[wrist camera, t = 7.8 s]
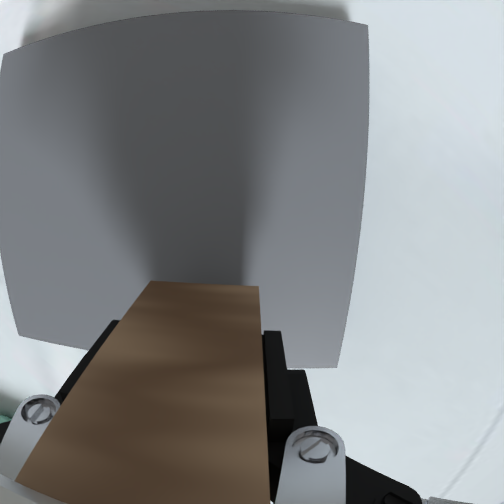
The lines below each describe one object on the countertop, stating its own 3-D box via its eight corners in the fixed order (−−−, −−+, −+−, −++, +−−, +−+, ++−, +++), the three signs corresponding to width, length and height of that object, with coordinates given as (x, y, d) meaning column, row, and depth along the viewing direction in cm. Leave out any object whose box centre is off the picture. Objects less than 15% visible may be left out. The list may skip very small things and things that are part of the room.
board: (354, 39, 12) (367, 25, 10) (329, 346, 17) (336, 367, 15) (24, 60, 12) (3, 54, 10) (35, 320, 17) (18, 335, 15)
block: (258, 286, 12) (273, 593, 2) (253, 374, 13) (255, 616, 3) (150, 280, 12) (-7, 520, 2) (159, 367, 13) (82, 586, 3)
